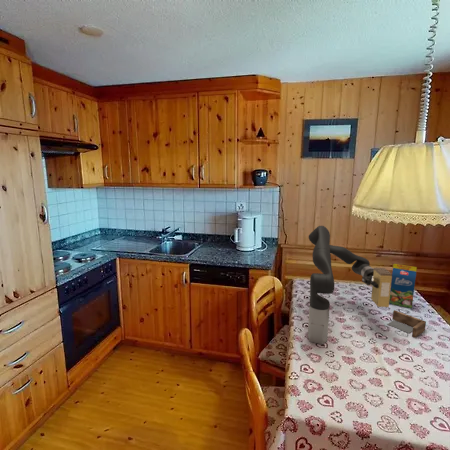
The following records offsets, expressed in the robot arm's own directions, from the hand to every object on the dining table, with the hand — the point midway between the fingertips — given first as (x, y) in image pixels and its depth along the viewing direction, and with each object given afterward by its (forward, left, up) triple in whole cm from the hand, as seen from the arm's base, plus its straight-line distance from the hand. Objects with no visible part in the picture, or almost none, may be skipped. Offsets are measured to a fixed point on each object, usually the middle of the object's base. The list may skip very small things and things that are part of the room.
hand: (383, 286), depth 148 cm
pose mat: (+12, -11, -25) cm, 30 cm away
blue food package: (+42, -13, -25) cm, 51 cm away
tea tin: (+2, +1, -10) cm, 10 cm away
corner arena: (+12, -12, -25) cm, 30 cm away
